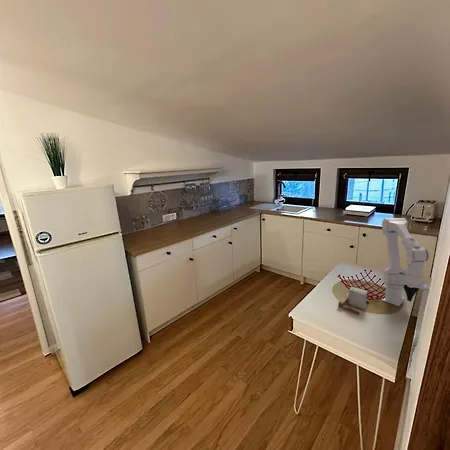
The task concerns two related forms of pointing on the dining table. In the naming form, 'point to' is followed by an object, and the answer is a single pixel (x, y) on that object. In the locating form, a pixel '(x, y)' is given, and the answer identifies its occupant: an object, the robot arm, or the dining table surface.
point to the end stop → (345, 301)
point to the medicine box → (357, 297)
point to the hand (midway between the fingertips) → (409, 300)
